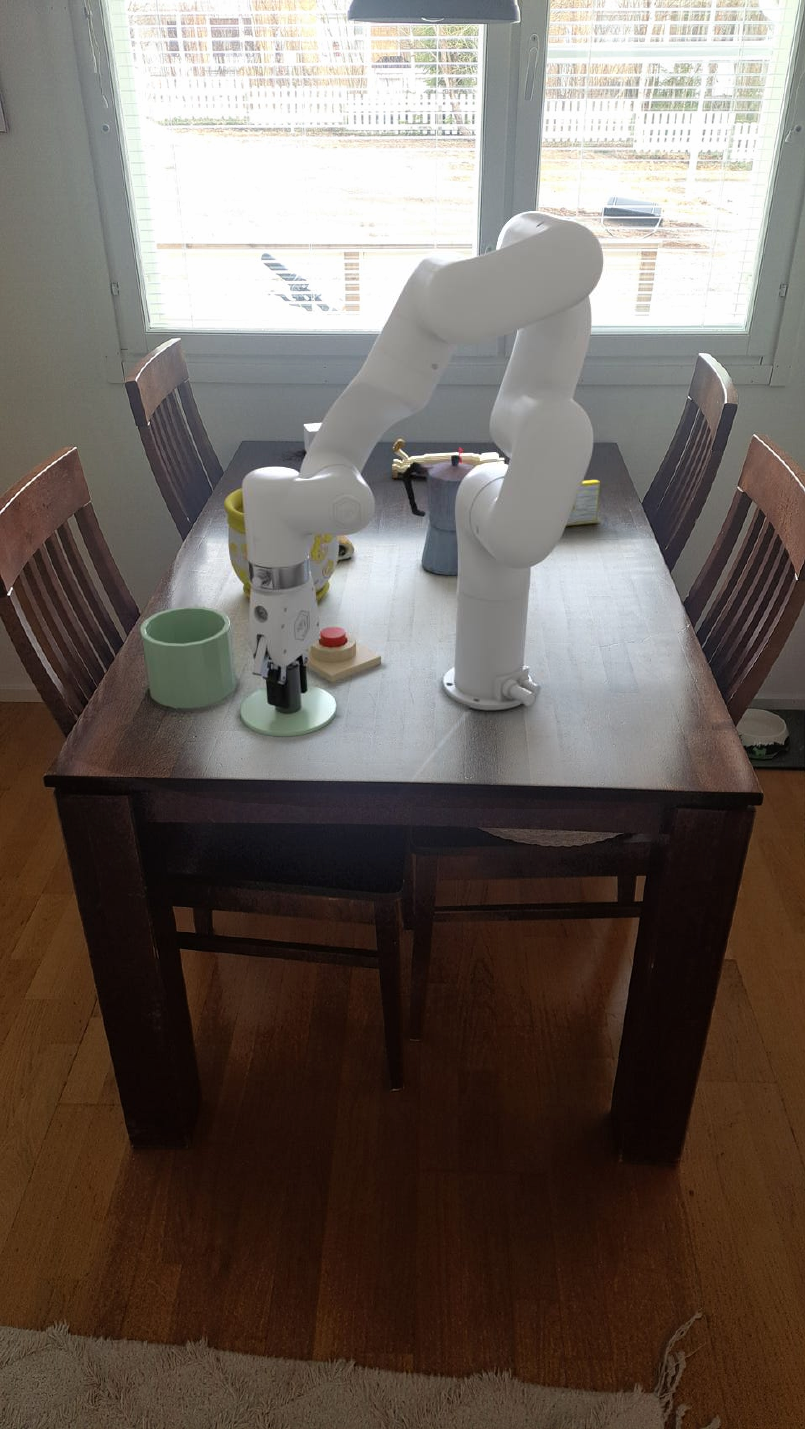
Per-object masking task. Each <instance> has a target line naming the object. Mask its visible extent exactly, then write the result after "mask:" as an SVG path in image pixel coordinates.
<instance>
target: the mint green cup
mask: <svg viewBox="0 0 805 1429" xmlns="http://www.w3.org/2000/svg"><path fill="white" fill-rule="evenodd" d="M139 632H140V639H141V645H142V654H143V659H144V665H145V666H144V667H145V673H146V679H147V686H148V691H149V694H150V695H149V696H150V697H151V699H152V700H154V701H155V702H157V703H159V704H160V705H162V706H167V707H170V708H173V709H174V708H175V709H196V708H201V707H207V706H210V705H214V704H216V703H218V702H221V701H223V700H225V699H226V698H227V697H229V696H230V695H231V694H232V693H233V692H234V691H235V688H236V685H237V676H236V665H235V656H234V646H233V645H234V644H233V635H232V624H231V621H230V619H229V617H228V615H227V614H226V613H224V612H222V611H220V610H219V609H216V608H215V609H214V608H210V607H205V606H180V607H172V608H169V609H165V610H162V611H159V612H157V613H154V614H152V615H151V616H149V617H148V618H146V619H145V620H143V622H142V624H141V626H140V628H139Z"/></svg>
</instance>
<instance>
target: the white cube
mask: <svg viewBox="0 0 805 1429" xmlns="http://www.w3.org/2000/svg"><path fill="white" fill-rule="evenodd" d="M321 423H322V422H315V423H304V424H303V440H304V451H305V452H306V453H307V451H308V449H309V447H310V445H311V443H312V441H313V439H314V437H315V435H316V433H317V431H318V429H319V427H320V425H321Z"/></svg>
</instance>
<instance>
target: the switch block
mask: <svg viewBox="0 0 805 1429" xmlns="http://www.w3.org/2000/svg"><path fill="white" fill-rule="evenodd" d="M345 637H346V643H345V645H343V646H340V647H333V648H330V647H324V646H322V645H321V636H320V632H319V638H318V640H317V641H316V642H315V643H314V644H313V645H312V646H311V647H310V648H308V651H307V655H308V662H307V664H306V665H304V666H306V668H308V669H309V670H311V671H312V672H314V673H316V674H317V675H319V676H320V677H322V678H324V679H325V680H326V681H328V682H329V683H334V682H336V681H339V680H342V679H345V678H347V677H350V676H353V675H355V674H357V673H360V672H362V671H366V670H368V669H371V668H372V667H376V666H379V665H380V664H382V656H381V655H379V654H378V653H377V652H374V651H373V650H372V649H369V648H368V647H366V646H364V645H362V644H361V643H359V642H357V640H356V637H355V636H354V635H353V634H351V633H350V632H347V631H345Z"/></svg>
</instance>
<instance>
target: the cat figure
mask: <svg viewBox="0 0 805 1429" xmlns="http://www.w3.org/2000/svg"><path fill="white" fill-rule="evenodd" d="M404 446H405V441H404V440H403V439H402V438H400V439H397V441H396V442H395V443H394V444H393V447H392V452H393V453H394V454H396V456H398V457H400V458H401V459H402V460H399V459H398V458H395V459H393V464H392V465H391V468H392V472H391V473H392V477H393V479H398V477H399V475H398V473H402V474H403V473H404V472H405V471H406V469H407V468H408V467H410V465H411V464H413V462H417V463H419V464H422V465H423V464H428V465H431V466H433V465H436V464H438V463H452V462H451V456H452V455H458V456H460V460H459V463H464V464H467V465H471V466H474V467H477V466H479V465H482V464H485V463H492V462H497V463H503V464H506V465H507V460H506V459H505V457H499V456H500V454H499V453H498V452H483V453H481V454H479V453H474V452H463V448H462V447H458V451H459V452H443V453H442V452H441V453H425V454H424V455H414V456H413V455H412V456H410V457H409V455H407V454H406V453H405V452H404V451H403V450H402V449H403V448H404ZM413 474H416V473H415V472H414V473H413Z"/></svg>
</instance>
